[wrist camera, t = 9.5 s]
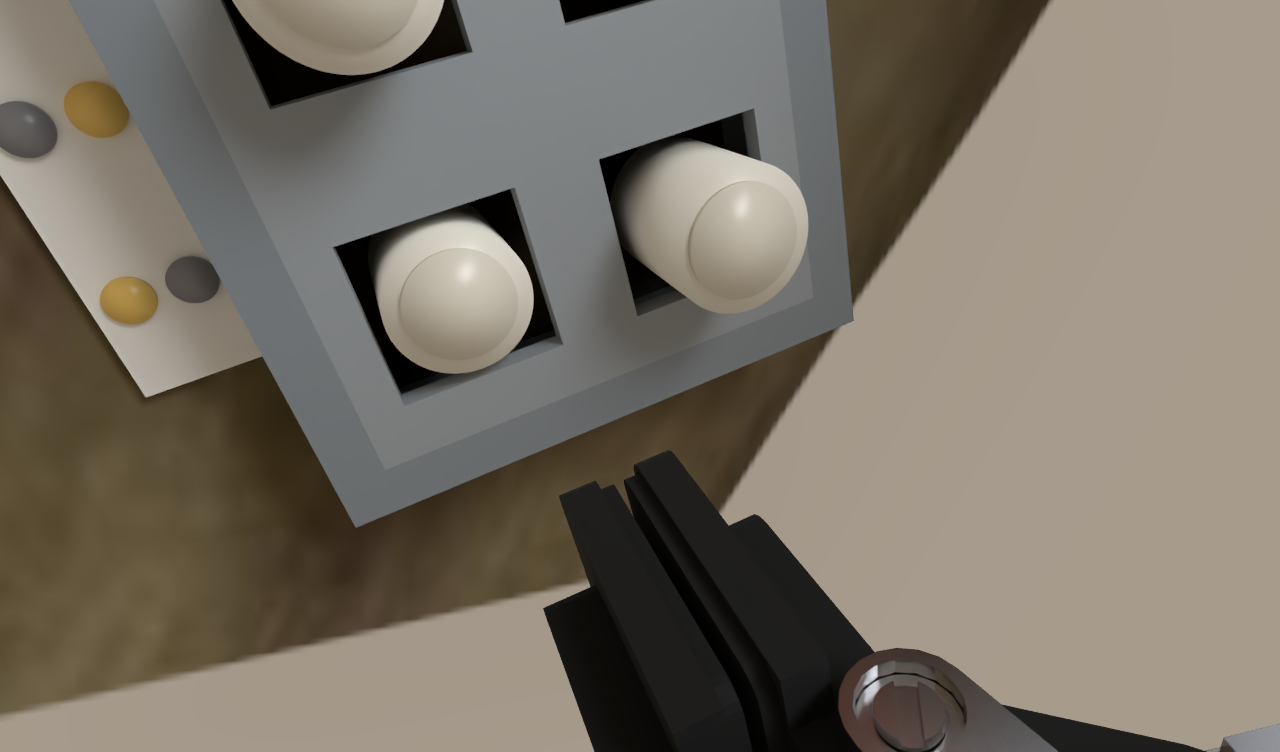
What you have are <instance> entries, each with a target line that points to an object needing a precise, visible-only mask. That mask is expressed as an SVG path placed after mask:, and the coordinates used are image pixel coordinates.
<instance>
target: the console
mask: <svg viewBox="0 0 1280 752" xmlns="http://www.w3.org/2000/svg"><path fill="white" fill-rule="evenodd" d="M451 1H452V4H453V7H454V11H455V14H456V17H457V20H458V23H459V26H460V30H461V33H462V36H463V39H464V42H465V46H466V49H467V51H465V52H461V53H458V54H454V55H450V56H447V57H443V58H440V59H436V60H433V61H429V62H426V63H422V64H419V65H415V66H412V67H408V68H404V69H401V70H397V71H394V72H390V73H387V74H383V75H380V76H376V77H373V78H369V79H366V80H362V81H359V82H355V83H351V84H348V85H344V86H341V87H337V88H334V89H330V90H327V91H323V92H320V93H316V94H313V95H309V96H305V97H302V98H298V99H295V100H291V101H288V102H284V103H281V104H277V105H274V106H271V105H270V102H269V100H268V98H267V96H266V94H265V91H264V89H263V87H262V85H261V82H260V80H259V78H258V76H257V74H256V71H255V69H254V67H253V65H252V62H251V60H250V58H249V56H248V54H247V51H246V49H245V47H244V45H243V42H242V40H241V38H240V36H239V34H238V31H237V29H236V27H235V25H234V23H233V20H232V18H231V16H230V14H229V11H228V9H227V7H226V5H225V3H224V0H69V2H70V4H71V6H72V7H73V9H74V11H75V13H76V15H77V17H78V18H79V20H80V22H81V24H82V26H83V28H84V29H85V31H86V33H87V35H88V37H89V39H90V40H91V42H92V44H93V46H94V48H95V50H96V52H97V53H98V55H99V57H100V59H101V61H102V63H103V64H104V66H105V68H106V70H107V72H108V74H109V75H110V77H111V79H112V81H113V83H114V85H115V86H116V88H117V90H118V92H119V94H120V96H121V97H122V99H123V101H124V103H125V105H126V107H127V108H128V110H129V112H130V114H131V116H132V118H133V119H134V121H135V123H136V125H137V127H138V129H139V131H140V132H141V134H142V136H143V138H144V140H145V142H146V143H147V145H148V147H149V149H150V151H151V153H152V154H153V156H154V158H155V160H156V162H157V164H158V165H159V167H160V169H161V171H162V173H163V175H164V176H165V178H166V180H167V182H168V184H169V186H170V187H171V189H172V191H173V193H174V195H175V197H176V198H177V200H178V202H179V204H180V206H181V208H182V210H183V211H184V213H185V215H186V217H187V219H188V221H189V222H190V224H191V226H192V228H193V230H194V232H195V233H196V235H197V237H198V239H199V241H200V243H201V244H202V246H203V248H204V250H205V252H206V254H207V255H208V257H209V259H210V261H211V263H212V265H213V266H214V268H215V270H216V272H217V274H218V276H219V277H220V279H221V281H222V283H223V285H224V287H225V288H226V290H227V292H228V294H229V296H230V298H231V300H232V301H233V303H234V305H235V307H236V309H237V311H238V312H239V314H240V316H241V318H242V320H243V322H244V323H245V325H246V327H247V329H248V331H249V333H250V334H251V336H252V338H253V340H254V342H255V344H256V345H257V347H258V349H259V351H260V353H261V355H262V356H263V358H264V360H265V362H266V364H267V366H268V367H269V369H270V371H271V373H272V375H273V377H274V379H275V380H276V382H277V384H278V386H279V388H280V390H281V391H282V393H283V395H284V397H285V399H286V401H287V402H288V404H289V406H290V408H291V410H292V412H293V413H294V415H295V417H296V419H297V421H298V423H299V424H300V426H301V428H302V430H303V432H304V434H305V435H306V437H307V439H308V441H309V443H310V445H311V446H312V448H313V450H314V452H315V454H316V456H317V458H318V459H319V461H320V463H321V465H322V467H323V469H324V470H325V472H326V474H327V476H328V478H329V480H330V481H331V483H332V485H333V487H334V489H335V491H336V492H337V494H338V496H339V498H340V500H341V502H342V503H343V505H344V507H345V509H346V511H347V513H348V514H349V516H350V518H351V520H352V522H353V524H354V525H355V527H356V528H357V527H359V526H361V525H364V524H366V523H369V522H371V521H373V520H376V519H378V518H381V517H383V516H385V515H388V514H390V513H393V512H395V511H397V510H400V509H402V508H405V507H407V506H409V505H412V504H414V503H417V502H419V501H422V500H424V499H426V498H429V497H431V496H434V495H436V494H438V493H441V492H443V491H446V490H448V489H450V488H453V487H455V486H458V485H460V484H462V483H465V482H467V481H470V480H472V479H474V478H477V477H479V476H482V475H484V474H486V473H489V472H491V471H494V470H496V469H498V468H501V467H503V466H506V465H508V464H510V463H513V462H515V461H518V460H520V459H522V458H525V457H527V456H530V455H532V454H535V453H537V452H539V451H542V450H544V449H547V448H549V447H551V446H554V445H556V444H559V443H561V442H563V441H566V440H568V439H571V438H573V437H575V436H578V435H580V434H583V433H585V432H587V431H590V430H592V429H595V428H597V427H599V426H602V425H604V424H607V423H609V422H611V421H614V420H616V419H619V418H621V417H623V416H626V415H628V414H631V413H633V412H635V411H638V410H640V409H643V408H645V407H648V406H650V405H652V404H655V403H657V402H660V401H662V400H664V399H667V398H669V397H672V396H674V395H676V394H679V393H681V392H684V391H686V390H688V389H691V388H693V387H696V386H698V385H700V384H703V383H705V382H708V381H710V380H712V379H715V378H717V377H720V376H722V375H724V374H727V373H729V372H732V371H734V370H736V369H739V368H741V367H744V366H746V365H748V364H751V363H753V362H756V361H758V360H761V359H763V358H765V357H768V356H770V355H773V354H775V353H777V352H780V351H782V350H785V349H787V348H789V347H792V346H794V345H797V344H799V343H801V342H804V341H806V340H809V339H811V338H813V337H816V336H818V335H821V334H823V333H825V332H828V331H830V330H833V329H835V328H837V327H840V326H842V325H845V324H847V323H849V322H852V321H853V308H852V297H851V285H850V273H849V262H848V250H847V238H846V227H845V215H844V204H843V192H842V180H841V169H840V157H839V145H838V134H837V122H836V111H835V99H834V87H833V76H832V64H831V53H830V41H829V29H828V18H827V6H826V0H645V1H641V2H638V3H634V4H631V5H627V6H624V7H620V8H617V9H613V10H610V11H606V12H602V13H599V14H595V15H592V16H588V17H585V18H581V19H578V20H574V21H571V22H567V23H565V21H564V17H563V13H562V9H561V5H560V1H559V0H451ZM720 119H721V126H722V132H723V138H724V144H725V150H728V151H731V152H734V153H737V154H740V155H743V156H747V157H750V158H753V159H756V160H759V161H762V162H765V163H768V164H770V165H773V166H775V167H777V168H779V169H781V170H782V171H784V172H785V173H786V174H787V175H789V176H790V177H791V179H792V180H793V181H794V182H795V183H796V185H797V186H798V188H799V189H800V191H801V193H802V196H803V198H804V201H805V204H806V207H807V213H808V237H807V243H806V247H805V250H804V254H803V256H802V259H801V261H800V264H799V265H798V267H797V269H796V271H795V273H794V274H793V276H792V277H791V279H790V280H789V281H788V283H787V284H786V285H785V286H784V287H783V288H782V289H781V290H780V291H779V292H778V293H777V294H776V295H775V296H774V297H773V298H771V299H770V300H769V301H767V302H765V303H764V304H762V305H760V306H758V307H756V308H754V309H752V310H748V311H745V312H741V313H736V314H722V313H716V312H712V311H709V310H706V309H704V308H702V307H700V306H699V305H697V304H695V303H694V302H693V301H691V300H690V299H689V298H687V297H686V296H685V295H683V294H682V293H681V292H679V291H678V290H677V289H675V288H674V287H673V286H671V285H670V286H667V287H665V288H662V289H660V290H657V291H654V292H652V293H649V294H646V295H644V296H641V297H638V298H636V299H633V296H632V292H631V288H630V284H629V280H628V276H627V272H626V268H625V264H624V260H623V256H622V252H621V248H620V244H619V240H618V236H617V232H616V228H615V224H614V219H613V215H612V211H611V207H610V203H609V199H608V195H607V191H606V187H605V183H604V179H603V175H602V171H601V167H600V163H599V159H602V158H605V157H608V156H611V155H614V154H617V153H620V152H623V151H626V150H629V149H632V148H635V147H638V146H641V145H644V144H647V143H651V142H654V141H657V140H660V139H663V138H666V137H669V136H672V135H675V134H678V133H681V132H684V131H687V130H690V129H693V128H696V127H699V126H702V125H705V124H708V123H711V122H714V121H717V120H720ZM508 189H510V190H511V193H512V196H513V199H514V202H515V206H516V209H517V212H518V215H519V218H520V222H521V225H522V228H523V231H524V234H525V237H526V241H527V244H528V247H529V250H530V253H531V257H532V260H533V263H534V266H535V269H536V273H537V276H538V279H539V282H540V285H541V289H542V292H543V295H544V298H545V301H546V305H547V308H548V311H549V314H550V317H551V321H552V324H553V327H554V330H551V331H549V332H546V333H543V334H541V335H538V336H536V337H533V338H530V339H528V340H525V341H522V342H520V343H518V344H517V345H516V346H515V347H514V348H513V349H512V350H511V351H510V352H509V353H508V354H507V355H506V356H504V357H503V358H502V359H501V360H499V361H497V362H496V363H494V364H492V365H490V366H488V367H485V368H483V369H480V370H477V371H473V372H468V373H458V374H452V373H438V374H435V375H433V376H430V377H427V378H425V379H422V380H420V381H417V382H414V383H412V384H409V385H406V386H404V387H401V388H398V386H397V384H396V382H395V380H394V378H393V375H392V373H391V371H390V369H389V366H388V364H387V362H386V360H385V358H384V355H383V353H382V351H381V349H380V346H379V344H378V342H377V340H376V338H375V335H374V333H373V331H372V329H371V327H370V324H369V322H368V320H367V318H366V315H365V313H364V311H363V309H362V307H361V304H360V302H359V300H358V298H357V295H356V293H355V291H354V289H353V287H352V284H351V282H350V280H349V278H348V275H347V273H346V271H345V269H344V267H343V264H342V262H341V260H340V258H339V256H338V253H337V251H336V249H335V246H338V245H341V244H344V243H347V242H350V241H353V240H356V239H360V238H363V237H366V236H369V235H372V234H375V233H378V232H381V231H384V230H387V229H390V228H393V227H396V226H399V225H402V224H405V223H408V222H411V221H414V220H417V219H420V218H423V217H426V216H429V215H432V214H435V213H438V212H441V211H444V210H447V209H450V208H453V207H457V206H460V205H463V204H466V203H469V202H472V201H475V200H478V199H481V198H484V197H487V196H490V195H493V194H496V193H499V192H502V191H505V190H508Z"/></svg>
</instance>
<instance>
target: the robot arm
mask: <svg viewBox="0 0 1280 752" xmlns="http://www.w3.org/2000/svg"><path fill="white" fill-rule="evenodd" d="M634 472H635V476H632V477H630V478H628V479H625V480H624V485H625V489H626V492H627V496H628V499H629V502H630V506H631V509H632V513H633V516H634V517H633V516H632V514H631V512H630V511H629V509H628V507H627V505H626V504H625V502H624V500H623V499H622V497H621V495H620V494H619V492H618V490H617V489H616V487H615V486H614V485H611V486H608V487H606V488H604V489H601V488H600V487H599V485H598V483H597V482H596V481H593V482H591V483H589V484H586V485H584V486H581V487H579V488H577V489H574V490H572V491H569V492H567V493H564V494H562V495H560V496H559V497H560V501H561V504H562V507H563V510H564V512H565V515H566V518H567V521H568V524H569V527H570V529H571V532H572V535H573V538H574V541H575V544H576V546H577V549H578V552H579V555H580V558H581V561H582V563H583V566H584V569H585V572H586V575H587V578H588V580H589V583H590V586H591V587H590V588H588V589H586V590H583V591H581V592H579V593H577V594H574V595H572V596H570V597H567V598H565V599H563V600H561V601H558V602H556V603H554V604H552V605H549V606H547V607H545V608H543V609H544V612H545V615H546V618H547V621H548V624H549V627H550V629H551V632H552V635H553V638H554V640H555V643H556V646H557V649H558V651H559V654H560V657H561V660H562V663H563V665H564V668H565V671H566V674H567V677H568V679H569V682H570V685H571V688H572V690H573V693H574V696H575V698H576V701H577V704H578V707H579V710H580V713H581V715H582V718H583V721H584V724H585V726H586V729H587V732H588V735H589V737H590V740H591V743H592V746H593V749H594V752H1280V724H1277V725H1273V726H1269V727H1265V728H1261V729H1257V730H1252V731H1248V732H1244V733H1240V734H1236V735H1233V736H1229V737H1224V738H1223V741H1222V745H1221V747H1219V748H1215V749H1211V750H1207V751H1202V750H1200V749H1197V748H1194V747H1190V746H1188V745H1184V744H1179V743H1175V742H1170V741H1166V740H1161V739H1157V738H1152V737H1147V736H1143V735H1138V734H1134V733H1129V732H1124V731H1120V730H1115V729H1111V728H1106V727H1102V726H1097V725H1092V724H1088V723H1083V722H1079V721H1074V720H1070V719H1065V718H1060V717H1056V716H1051V715H1047V714H1042V713H1038V712H1033V711H1028V710H1023V709H1019V708H1015V707H1010V706H1006V705H1001V704H1000V703H999V702H998V701H996V700H995V699H994V698H993V697H992V696H990V695H989V694H988V693H987V692H986V691H984V690H983V689H982V688H981V687H979V686H978V685H977V684H976V683H975V682H973V681H972V680H971V679H970V678H969V677H967V676H966V675H965V674H964V673H963V672H961V671H960V670H959V669H958V668H956V667H954V666H953V665H951V664H950V663H948V662H947V661H945V660H943V659H942V658H940V657H938V656H935V655H932V654H929V653H926V652H923V651H920V650H915V649H902V648H894V649H889V650H883V651H877V652H874V651H873V650H872V649H871V647H870V646H869V645H868V644H867V643H866V641H865V640H864V639H863V638H862V637H861V635H860V634H859V633H858V632H857V631H856V629H855V628H854V627H853V626H852V625H851V623H850V622H849V621H848V620H847V619H846V618H845V616H844V615H843V614H842V613H841V612H840V610H839V609H838V608H837V607H836V606H835V604H834V603H833V602H832V601H831V600H830V598H829V597H828V596H827V595H826V594H825V592H824V591H823V590H822V589H821V588H820V587H819V585H818V584H817V583H816V582H815V580H814V579H813V578H812V577H811V576H810V574H809V573H808V572H807V571H806V570H805V568H804V567H803V566H802V565H801V564H800V563H799V561H798V560H797V559H796V558H795V557H794V555H793V554H792V553H791V552H790V551H789V549H788V548H787V547H786V546H785V545H784V544H783V542H782V541H781V540H780V539H779V537H778V536H777V535H776V534H775V533H774V532H773V530H772V529H771V528H770V527H769V525H768V524H767V523H766V522H765V521H764V520H763V519H762V518H761V517H760V516H758V515H755V514H754V515H752V516H750V517H747V518H745V519H743V520H741V521H738V522H736V523H734V524H732V525H729V526H728V524H727V523H726V522H725V520H724V519H723V518H722V516H721V515H720V514H719V513H718V511H717V510H716V509H715V507H714V506H713V505H712V503H711V502H710V501H709V499H708V498H707V497H706V495H705V494H704V493H703V492H702V490H701V489H700V488H699V486H698V485H697V484H696V482H695V481H694V480H693V478H692V477H691V476H690V474H689V473H688V472H687V471H686V469H685V468H684V467H683V465H682V464H681V463H680V461H679V460H678V459H677V457H676V456H675V455H674V454H673V453H672V452H671V451H669V450H668V451H666V452H663V453H661V454H659V455H656V456H654V457H651V458H649V459H646V460H644V461H642V462H639V463H637V464H635V465H634Z"/></svg>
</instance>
